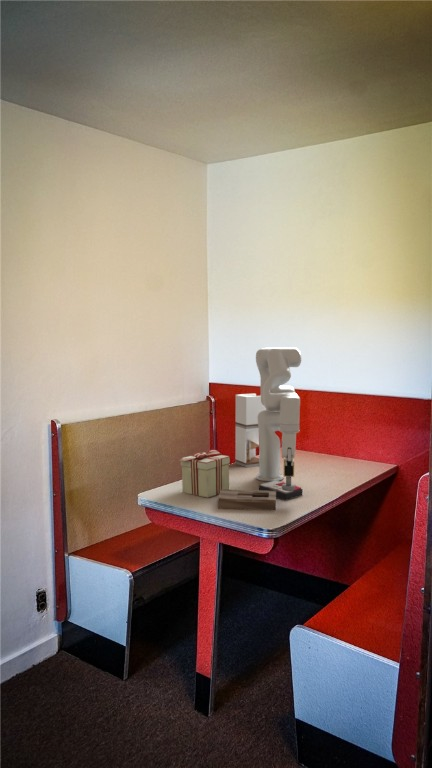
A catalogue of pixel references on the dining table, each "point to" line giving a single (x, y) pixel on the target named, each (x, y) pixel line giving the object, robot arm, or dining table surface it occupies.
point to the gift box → (205, 473)
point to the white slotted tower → (247, 429)
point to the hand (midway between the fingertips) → (288, 473)
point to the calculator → (280, 490)
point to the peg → (288, 480)
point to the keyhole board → (247, 499)
